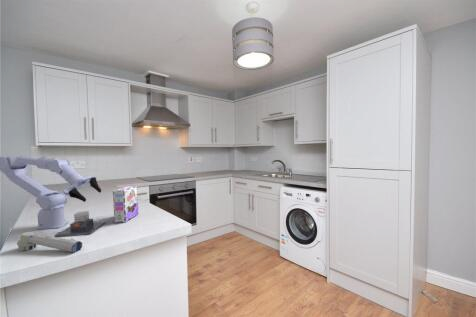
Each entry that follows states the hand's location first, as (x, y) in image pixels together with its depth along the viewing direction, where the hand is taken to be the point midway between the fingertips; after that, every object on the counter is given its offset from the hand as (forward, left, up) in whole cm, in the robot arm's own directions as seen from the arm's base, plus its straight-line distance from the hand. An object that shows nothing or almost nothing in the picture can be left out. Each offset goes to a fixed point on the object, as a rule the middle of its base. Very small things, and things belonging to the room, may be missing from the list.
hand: (93, 195), depth 103 cm
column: (-3, -4, -14) cm, 15 cm away
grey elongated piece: (-4, -24, -15) cm, 29 cm away
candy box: (+12, +9, -15) cm, 21 cm away
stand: (-3, -4, -15) cm, 16 cm away
